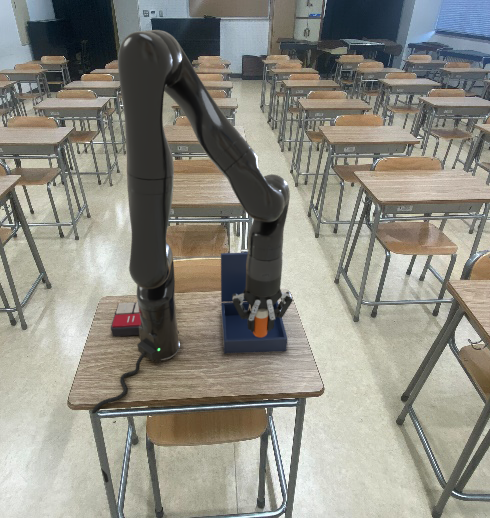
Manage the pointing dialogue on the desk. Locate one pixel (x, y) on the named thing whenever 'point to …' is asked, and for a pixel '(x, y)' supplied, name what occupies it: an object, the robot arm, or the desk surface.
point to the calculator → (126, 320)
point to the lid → (233, 274)
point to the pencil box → (249, 333)
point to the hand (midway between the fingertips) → (260, 328)
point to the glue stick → (261, 322)
